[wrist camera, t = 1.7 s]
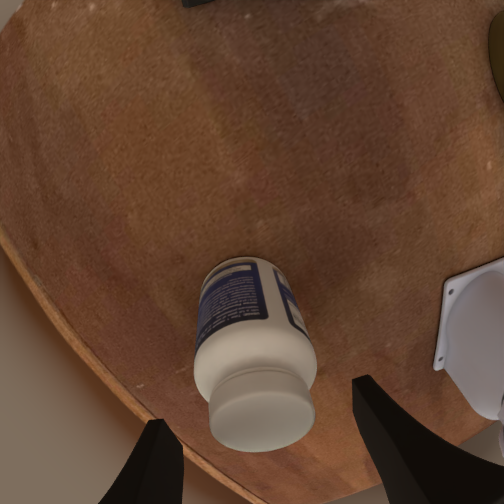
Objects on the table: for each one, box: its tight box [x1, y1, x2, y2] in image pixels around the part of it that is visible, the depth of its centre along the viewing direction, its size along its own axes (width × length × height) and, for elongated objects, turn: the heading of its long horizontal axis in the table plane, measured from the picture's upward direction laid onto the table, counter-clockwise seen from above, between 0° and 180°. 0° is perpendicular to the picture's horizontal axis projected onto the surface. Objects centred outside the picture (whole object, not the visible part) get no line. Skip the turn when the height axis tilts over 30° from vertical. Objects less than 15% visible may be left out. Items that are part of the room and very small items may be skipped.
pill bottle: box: [194, 257, 317, 452], centre depth 15 cm, size 5×5×10 cm
